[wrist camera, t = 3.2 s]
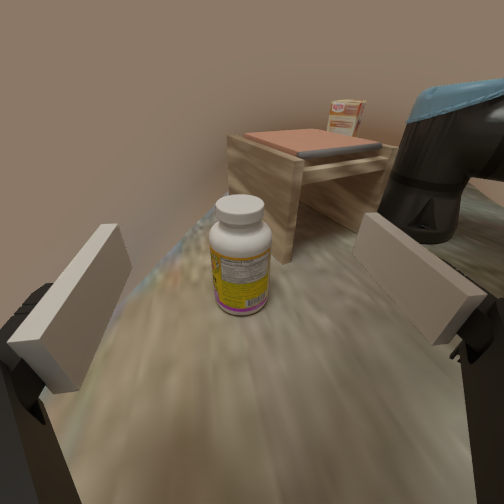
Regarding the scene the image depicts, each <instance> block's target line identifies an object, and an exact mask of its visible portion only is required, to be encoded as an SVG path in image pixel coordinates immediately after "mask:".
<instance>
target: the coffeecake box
mask: <svg viewBox="0 0 504 504" xmlns="http://www.w3.org/2000/svg"><path fill="white" fill-rule="evenodd" d="M366 102H367V101H363V100H338V101H332V104H331V110H330V116H329V121H328V126H327V132H332V133H337V134H342V135H347V136H351V137H356V138H357V137H358V133H359V128H360V125H361V120H362V117H363V112H364V109H365V105H366Z"/></svg>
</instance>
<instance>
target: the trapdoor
mask: <svg viewBox="0 0 504 504" xmlns="http://www.w3.org/2000/svg"><path fill="white" fill-rule="evenodd" d="M244 138H246V139H249V140H251V141H254V142H257V143H260V144H262V145H265V146H268V147H270V148H273V149H276V150H279V151H281V152H284V153H287V154H290V155H292V156H295V157H298V158H300V159H303V160H306V159H313V158H321V157H328V156H336V155H343V154H351V153H359V152H366V151H374V150H380V149H381V148H382V143H380V142H375V141H370V140H366V139H361V138H356V137H351V136H347V135H342V134H337V133H332V132H327V131H322V130H318V129H301V130H285V131H271V132H256V133H244Z"/></svg>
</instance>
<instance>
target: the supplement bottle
mask: <svg viewBox="0 0 504 504" xmlns="http://www.w3.org/2000/svg"><path fill="white" fill-rule="evenodd" d="M216 216H217V218H218V220H219V221H218V222H216V223H215V224H214V225H213V227H212V228H211V230H210V233H209V244H210V253H211V262H212V272H213V282H214V291H215V298H216V301H217V303H218V305H219V306H220V307H221V308H222V309H223V310H224V311H226V312H228V313H230V314H233V315H249V314H252V313H255V312H257V311H258V310H260V309H261V308H262V307H263V306H264V305H265V303H266V301H267V298H268V289H269V275H270V260H271V247H272V232H271V229H270V227H269V226H268V225H267V224H266V223H265V222H264V221H263V220H262V219H263V216H264V202H263V200H261V199H260V198H258V197H256V196H252V195H246V194H237V195H229V196H225V197H223V198H221V199H219V200H218V201H217V202H216Z"/></svg>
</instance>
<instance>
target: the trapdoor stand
mask: <svg viewBox="0 0 504 504" xmlns="http://www.w3.org/2000/svg"><path fill="white" fill-rule="evenodd" d="M398 149H399V147H395V146H390V145H385V144H382V148H381V149H380V150H374V151H366V152H359V153H351V154H343V155H336V156H328V157H321V158H313V159H306V160H303V159H300V158H298V157H295V156H292V155H290V154H287V153H284V152H281V151H279V150H276V149H273V148H270V147H268V146H265V145H262V144H260V143H257V142H254V141H251V140H249V139H246V138H243V137H240V136H238V135H235V134H234V135H227V153H228V178H229V195H237V194H246V195H252V196H256V197H258V198H260V199H261V200H263V202H264V216H263V219H262V220H263V221H264V222H265V223H266V224H267V225H268V226H269V227H270V229H271V232H272V247H271V254H272V255H273V256H274V257H275V258H276V259H277V260H278V261H279V262H280V263H281V264H286V263H289V262H291V256H292V249H293V241H294V234H295V227H296V220H297V212H298V205H299V201H301V202H302V203H304V204H306V205H308V206H309V207H311V208H313V209H315V210H316V211H318V212H320V213H322V214H323V215H325V216H327V217H329V218H330V219H332V220H334V221H336V222H337V223H339V224H341V225H342V226H344V227H346V228H348V229H349V230H351V231H353V232H355V233H356V234H358V232H359V229H360V226H361V222H362V219H363V216H364V213H374V212H377V210H378V207H379V204H380V202H381V199H382V196H383V193H384V190H385V187H386V184H387V181H388V178H389V175H390V173H391V170H392V167H393V164H394V161H395V158H396V155H397V152H398Z"/></svg>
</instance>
